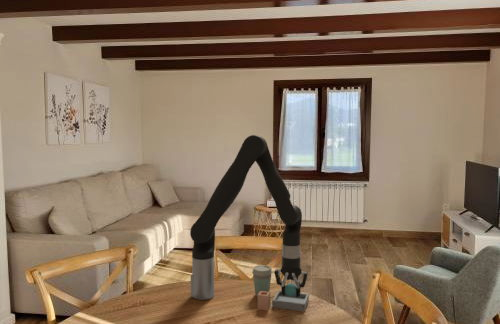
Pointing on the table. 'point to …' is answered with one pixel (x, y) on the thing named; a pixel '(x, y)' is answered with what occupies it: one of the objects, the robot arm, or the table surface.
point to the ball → (290, 289)
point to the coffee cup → (262, 278)
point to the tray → (290, 301)
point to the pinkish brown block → (264, 300)
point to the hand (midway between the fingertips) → (290, 295)
